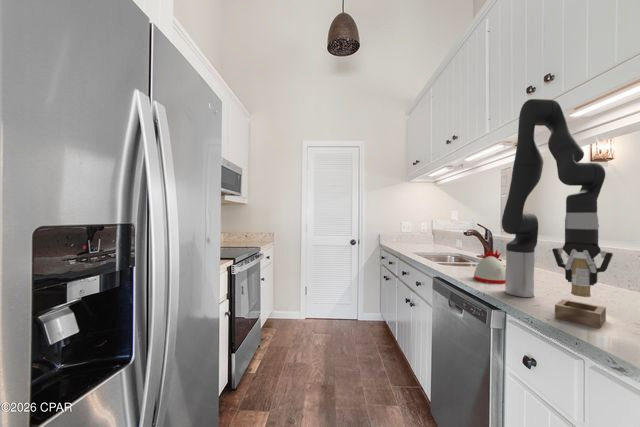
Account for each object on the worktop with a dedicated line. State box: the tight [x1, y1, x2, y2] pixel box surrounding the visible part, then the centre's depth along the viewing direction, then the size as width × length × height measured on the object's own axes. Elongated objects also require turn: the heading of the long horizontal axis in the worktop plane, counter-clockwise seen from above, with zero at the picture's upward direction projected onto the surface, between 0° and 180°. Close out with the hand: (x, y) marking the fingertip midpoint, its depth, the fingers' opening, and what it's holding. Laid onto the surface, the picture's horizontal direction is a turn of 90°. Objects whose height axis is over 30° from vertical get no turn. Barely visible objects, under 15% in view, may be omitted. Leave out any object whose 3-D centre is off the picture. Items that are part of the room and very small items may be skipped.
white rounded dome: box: [473, 249, 506, 285], centre depth 136 cm, size 14×14×15 cm
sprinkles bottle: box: [570, 252, 592, 298], centre depth 86 cm, size 5×5×14 cm
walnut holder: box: [554, 298, 607, 329], centre depth 86 cm, size 10×10×4 cm
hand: (581, 283), depth 86 cm, fingers closed on sprinkles bottle, 4 cm apart
